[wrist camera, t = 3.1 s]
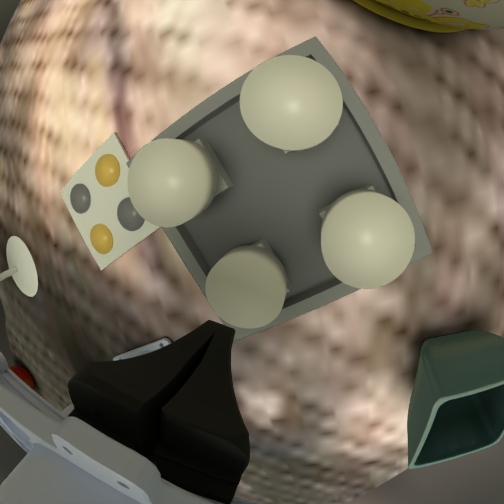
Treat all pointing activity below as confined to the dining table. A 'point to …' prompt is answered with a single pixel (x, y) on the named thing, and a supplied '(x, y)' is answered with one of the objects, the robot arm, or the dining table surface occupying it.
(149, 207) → the button
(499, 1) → the flowerpot
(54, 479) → the robot arm
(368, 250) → the button
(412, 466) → the flower pot
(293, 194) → the button board
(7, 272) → the wineglass
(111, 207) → the card
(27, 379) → the apple
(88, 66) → the dining table surface
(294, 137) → the button
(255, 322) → the button
